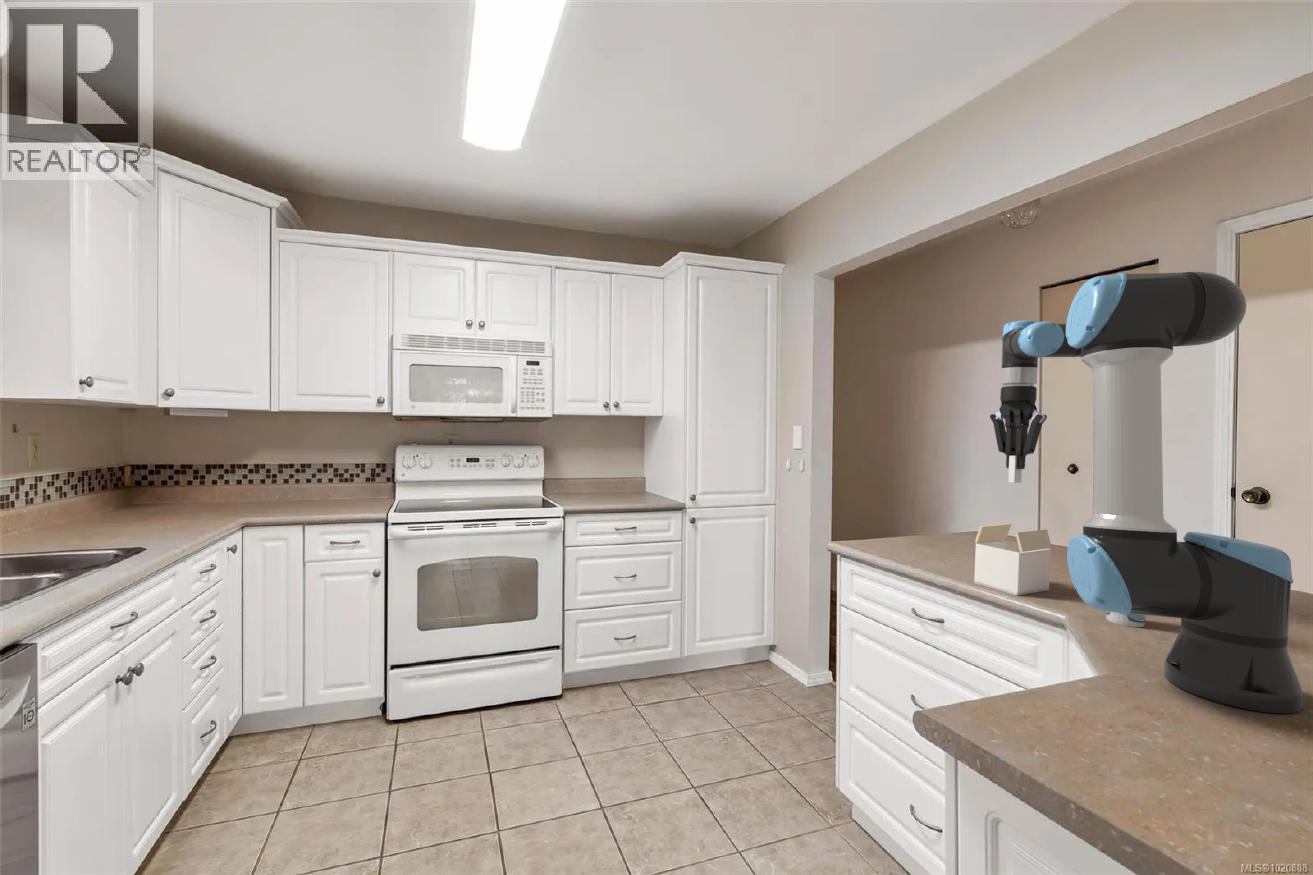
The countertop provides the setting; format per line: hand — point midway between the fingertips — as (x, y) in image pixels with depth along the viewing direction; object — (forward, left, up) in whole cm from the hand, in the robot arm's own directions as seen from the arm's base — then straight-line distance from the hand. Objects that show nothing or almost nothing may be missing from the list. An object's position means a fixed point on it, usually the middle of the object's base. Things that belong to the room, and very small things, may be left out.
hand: (1014, 482), depth 145 cm
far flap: (0, +5, -13) cm, 14 cm away
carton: (0, 0, -26) cm, 26 cm away
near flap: (0, -5, -13) cm, 14 cm away
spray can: (-3, -26, -26) cm, 37 cm away
